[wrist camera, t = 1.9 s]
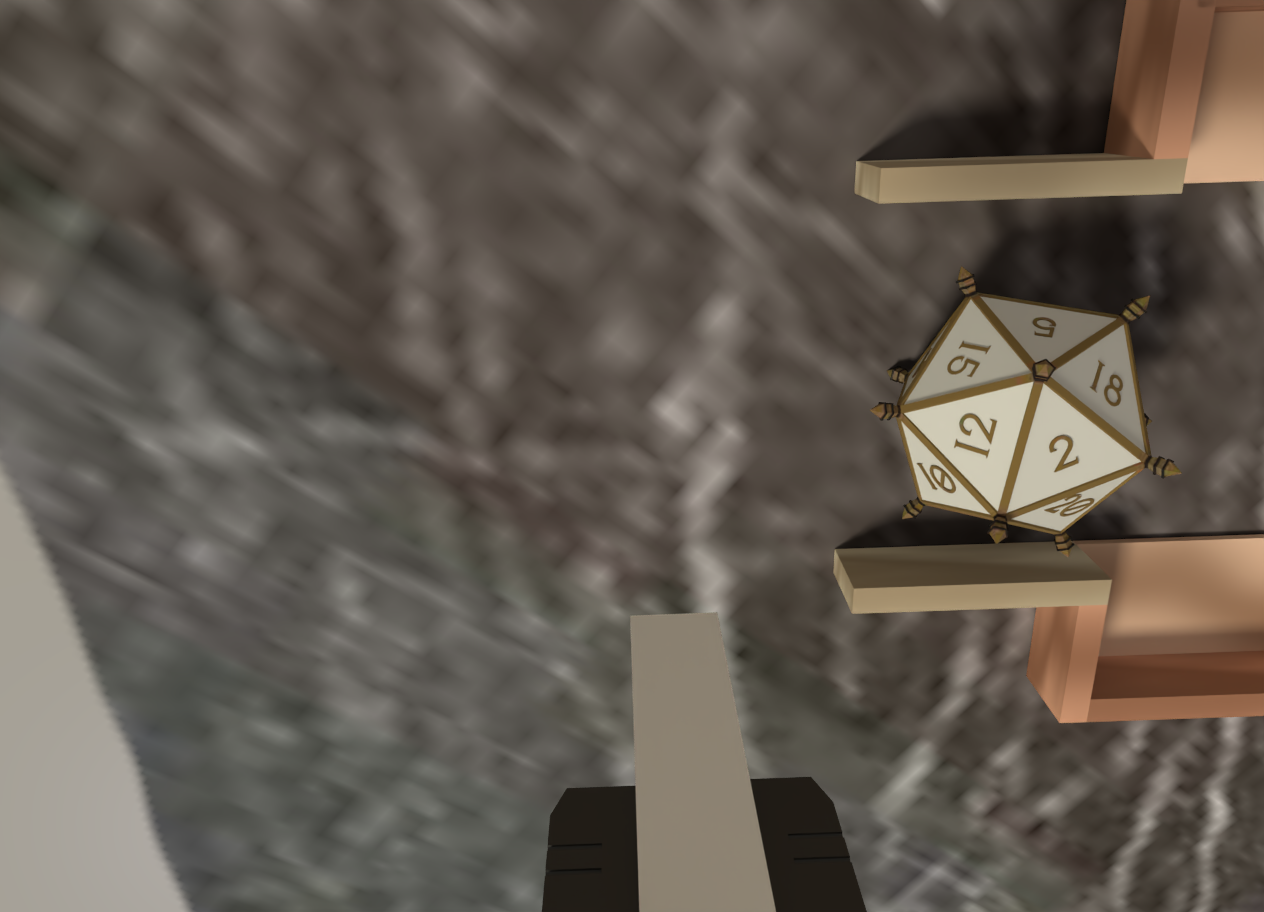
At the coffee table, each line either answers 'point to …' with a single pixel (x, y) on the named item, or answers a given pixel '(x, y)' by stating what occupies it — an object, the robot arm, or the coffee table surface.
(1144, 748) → the coffee table surface
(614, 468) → the coffee table surface
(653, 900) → the robot arm
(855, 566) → the trap box
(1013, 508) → the game die
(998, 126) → the coffee table surface
